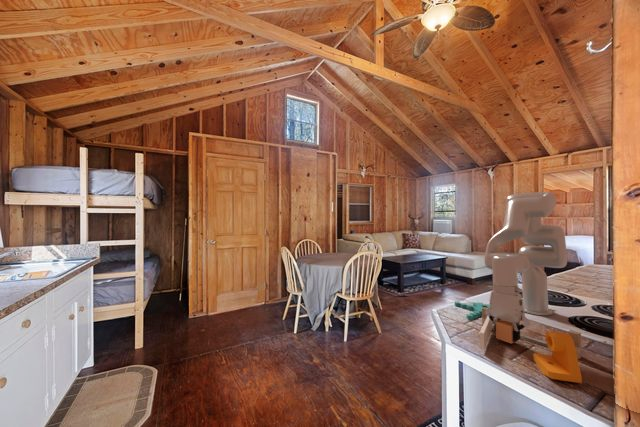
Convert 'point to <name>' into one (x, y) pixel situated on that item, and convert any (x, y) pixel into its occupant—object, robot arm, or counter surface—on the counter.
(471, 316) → the alien figure
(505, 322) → the block
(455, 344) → the counter surface
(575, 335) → the gate frame
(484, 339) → the gate door
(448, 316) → the counter surface
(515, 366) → the counter surface
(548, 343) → the bracket
